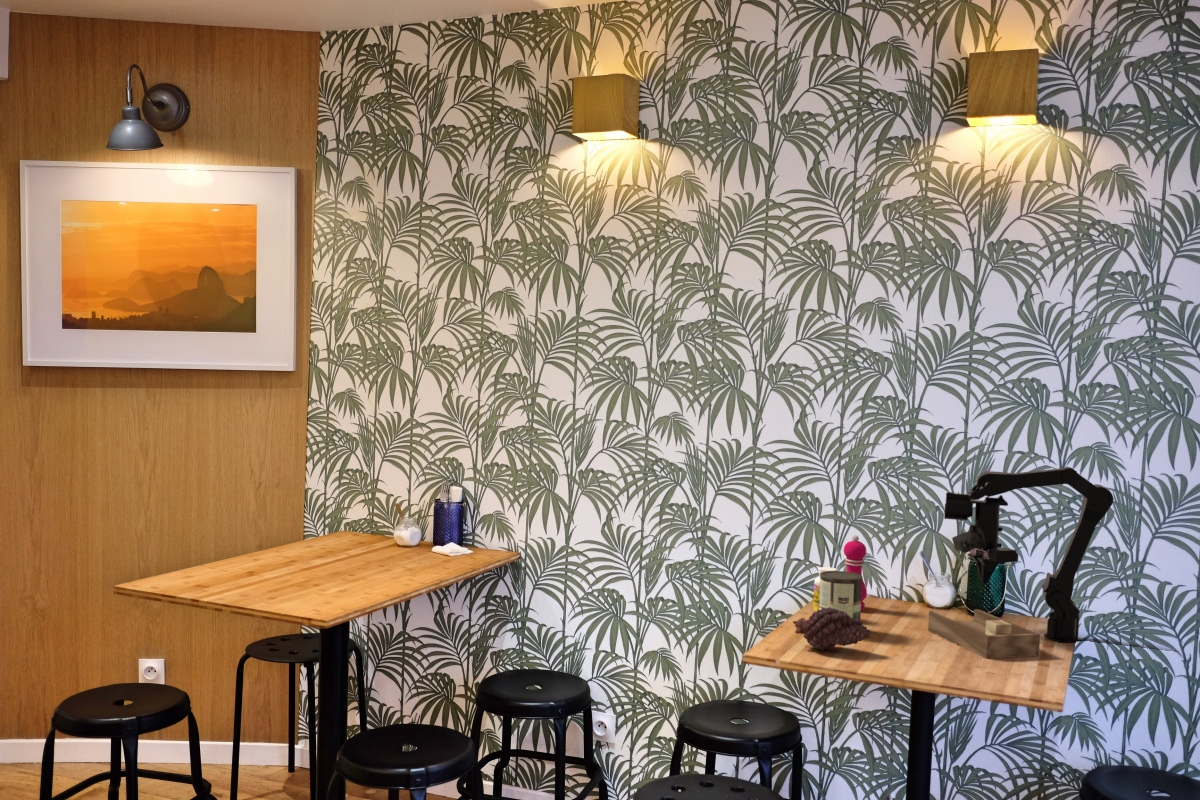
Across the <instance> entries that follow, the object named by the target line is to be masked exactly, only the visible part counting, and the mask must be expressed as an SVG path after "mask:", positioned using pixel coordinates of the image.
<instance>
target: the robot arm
mask: <svg viewBox="0 0 1200 800" xmlns="http://www.w3.org/2000/svg"><path fill="white" fill-rule="evenodd" d="M975 482H976V483H975V485H974V486H973V487H972V488H971V489H970V490H969V492H968V493H956V492H952V491H947V492H946V494H945V503H944V513H943V514H944V517H943V519H944V520H955V521H956V520H957V521H968V518H969V519H970V518H972V517H973V510H974V505H975V510H974V511H975V512H974V524H973V523H972V524H970V526H969V531H966V532H965V531H964V532H962V533H960V534H957V535H955V536H953V537H951V539H952V543H953V549H954V551H959V552H961V553H965V554H966V553H967V556H968V557H970V558H971V560H973V561H974V564H975V566H976V569H977V572H978V573H977V574H978V576H979V577H978V578H979V580H980V583H981V584H983V585H986V584H988V582H989V580H991V579H990V578H991V577H992V575H993V574H994V572H995V571H996V569H997V568H998V566H999V564H1000V563H1017V562H1019V553H1018V552H1017V551H1016V550H1015V549H1012V548H1008V547H1002V545H1003V544H1002V543H1000V542H999V534H1000V533H999V532H1003V527H1002V526H1000V512H1001V511H1000V508H1001V506H1004V507H1007V506H1009V502H1008V501H1007V500H1006V499H1005V498H1004V496H1003V495H1002V494H1007V493H1008V492H1011V491H1014V490H1019V489H1027V488H1028V489H1029V488H1035V487H1036V488H1039V487H1048V486H1059V485H1068V486H1070V487H1071V488H1072V489H1074V490H1075V491H1076V492H1077V493H1079V494H1080V495H1082V501H1081V507H1080V515H1079V517H1078V518H1079V519H1078V520H1077V524H1076V525H1075V528H1074V530H1073V533H1072V534H1071V535H1072V536H1071V538H1070V540H1069V542H1068V545H1067V547H1066V550H1065V551H1064V554H1063V556H1062V559H1061V561H1060V564H1059V566H1058V568H1057V569H1056V571H1055V572H1054V573H1053V574H1051V573H1050V572H1047V573H1046V577H1045V580H1044V582H1043V583H1042V585H1041V589H1042V596H1043V599H1044V601H1045V603H1046V605H1047V606H1048V607H1049V608H1050V609H1052V611H1051V612H1049V613H1048V619H1047V624H1046V626H1047V627H1046V633H1044V634H1043V636H1044V637H1047V638H1049V639H1051V640H1053V641H1056V642H1059V643H1073V642H1074V643H1076V642H1077V643H1079V642H1083V638H1080V637H1079V628H1080V627H1079V625H1080V624H1079V623H1080V615H1079V614H1080V609H1079V608H1078V606H1077V604H1076V603H1075V601H1073V600H1072V596H1073V590H1074V584H1075V583H1074V582H1075V576H1076V574H1077V572H1078V569H1079V568H1080V565H1081V562H1082V560H1083V558H1084V556H1085V553H1086V550H1087V548H1088V547H1089V543H1090V541H1091V538H1093V534H1094V532H1095V529H1096V527H1097V525H1098V524H1099V523H1100V522H1101V520H1102V519H1103V518H1104V517H1105V516H1106V514H1107V513H1108V511H1109V510H1110V509H1111V507H1112V505H1113V503H1114V496H1113V494H1112V492H1111V491H1110V490H1109V489H1108V488H1106V486H1104V485H1102V484H1097V483H1096V484H1093V482H1090V481H1089V480H1088V479H1087V478H1085V477H1083V476H1082V475H1080V473H1078V472H1077V471H1076V470H1075V468H1073V467H1070V466H1064V467H1061V468H1052V469H1043V470H1033V471H1024V472H1023V471H1021V472H1005V471H993V470H990V471H989V470H987V471H983V472H980V474H978V475H977V478H976V481H975ZM998 495H999V496H998ZM993 496H995V497H993ZM996 496H998V497H996ZM984 497H985V498H984ZM982 498H984V500H981V499H982Z"/></svg>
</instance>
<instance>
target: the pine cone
mask: <svg viewBox="0 0 1200 800" xmlns="http://www.w3.org/2000/svg"><path fill="white" fill-rule="evenodd" d="M792 623H793V624H794V626H795V628H796V629H795V631H794V633H795V634H796V635H797V634H799V635H803V638H804V639H805V640H806V643H807V644H809V646H812V648H814V649H817V650H818V649H819V650H820V651H822V652H823V651H824V650H825V649H826V650H827V649H828V648H835V646H836V645H837V646H838V645H839V646H842V647H843V646H844V647H845V646H849V645H850V646H851V645H857V643H858V642H862V641H863V640H865V639H869V638H870V636H871V635H870V634H871V632H870V629H869V628H868V627H867V626H865V625H863V622H862V621H861V619H860V620H857V619H856V618H851V617H850V616H849V615H848V614H847V613H845V612H844V611H839V610H838V609H832V608H830V607H828V608H822V609H821V610H818V611H816V612H814V613H813V612H812V615H810V616H809V618H808V619H806V618H805V617H801V618H799V619H798V620H794V621H792ZM867 628H868V629H867Z"/></svg>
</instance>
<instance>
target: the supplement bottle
mask: <svg viewBox="0 0 1200 800" xmlns="http://www.w3.org/2000/svg"><path fill="white" fill-rule="evenodd" d="M825 571H838V569H837V568H835V567H829V566H822V567H818V576H817V577H816V578H815V579H814V582H813V602H812V604H813V605H812V614H813V613H814V612H816V611H818V610H819V603H820V573H821V572H825Z"/></svg>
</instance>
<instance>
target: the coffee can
mask: <svg viewBox="0 0 1200 800" xmlns="http://www.w3.org/2000/svg"><path fill="white" fill-rule="evenodd" d="M862 578H863V575H862V576H861V575H859V574H857V573H852V572H847V571H846V570H845V571H842V570H837V571H825V572H821V573H820V603H819V610H821V609H822V608H828V607H830V608H832V609H838V610H839V611H844V612H845V613H847V614H848V615H849V616H850V617H851V618H856V619H857V620H860V621H861V612H862V611H861V590H862V589H861V588H862Z"/></svg>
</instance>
